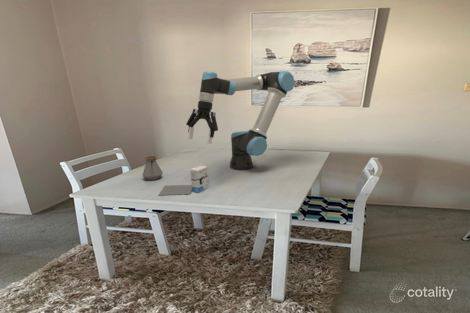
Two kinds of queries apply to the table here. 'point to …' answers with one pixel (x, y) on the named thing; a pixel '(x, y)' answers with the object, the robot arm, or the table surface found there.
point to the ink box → (199, 178)
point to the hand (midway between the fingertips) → (199, 141)
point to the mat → (176, 190)
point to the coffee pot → (152, 169)
